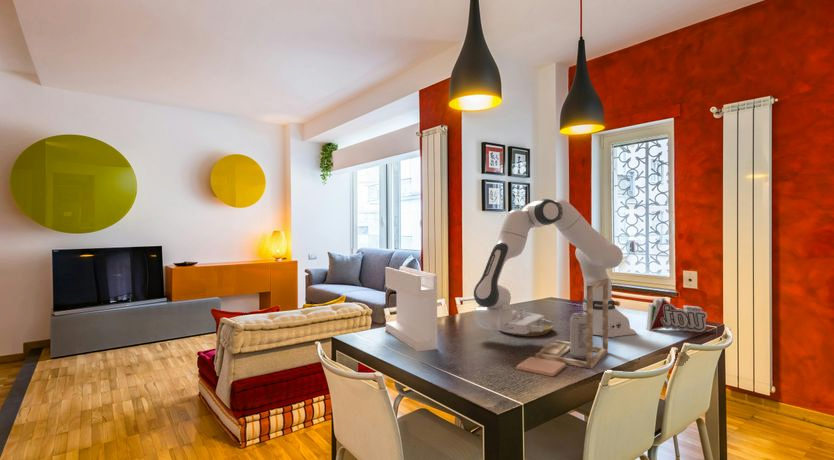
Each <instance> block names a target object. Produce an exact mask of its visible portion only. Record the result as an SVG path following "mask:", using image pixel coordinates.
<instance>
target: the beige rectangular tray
mask: <svg viewBox="0 0 834 460" xmlns="http://www.w3.org/2000/svg"><path fill="white" fill-rule="evenodd" d="M568 351H569V352H570V346H566V345H564V344H557V343H556V342H548V344H546V345H545V346H544V347H542V348H541V349H540V350H539V352H538V353H541V354H547V355H552V356H558V357H563V355H565V354H566V353H567V352H568Z"/></svg>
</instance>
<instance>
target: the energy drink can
mask: <svg viewBox="0 0 834 460" xmlns="http://www.w3.org/2000/svg"><path fill="white" fill-rule="evenodd" d="M569 320H570V321H569V325H570V326H569V331H570V332H569V334H570V335H569V342H570V350H569V352H570V354H571V357H573V358H575V359H586V350H587V315H586V314H584V313H582V312H572V313H571V316H570V319H569Z"/></svg>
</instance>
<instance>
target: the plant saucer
mask: <svg viewBox="0 0 834 460" xmlns="http://www.w3.org/2000/svg"><path fill="white" fill-rule="evenodd" d="M542 326H543V327H544V330H543V331H542V332H539V331H534V332H529V333H527V334H517V333H516V334H514V333H508V332H504V333H506V334H509V335H514V336H520V337H538V336H543V335H546V334H548V333H550V332H551V330H552V329H553V328H554V325H552V326H551V327H550V326H546V325H542Z"/></svg>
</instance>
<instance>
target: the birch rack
mask: <svg viewBox="0 0 834 460" xmlns="http://www.w3.org/2000/svg"><path fill="white" fill-rule="evenodd" d="M602 285H603V336H602V346H595V345H593V342H594V340H593V337H594V336H593V290H594V289H596V288H598V287H600V286H602ZM555 343H557V344H564V345H566V346H570V341H566V340H558V339H557V340H555ZM594 352H597V353H595V354H594V355H593V353H594ZM608 352H609V337H608V279H607V278H603V279H601V280H599V281H596V282H594V283H591V284H589V285H587V350H586V358H585V360H586V361H583V360H579V359H572V358H567V357H564V356H561V357H558V356H552V355H547V354H541V353H539V352H536V353H535V357H536V358H541V359H546V360H551V361H557V362H562V363H566V365H571V366H576V367H580V368H587V369H593V368H594V366H596V365H597V364H598V363H599V362H600V361H601V360H602V359H603V358H604V357H605V356H606V355H607V354H608Z"/></svg>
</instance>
